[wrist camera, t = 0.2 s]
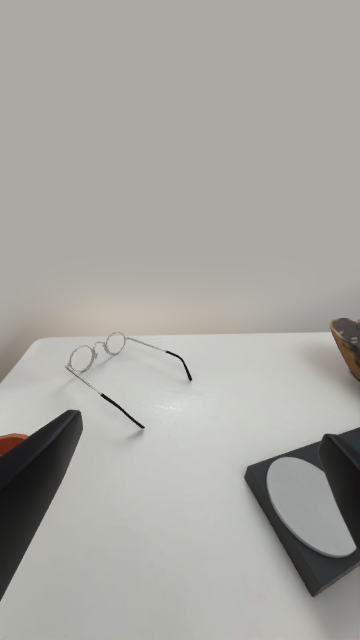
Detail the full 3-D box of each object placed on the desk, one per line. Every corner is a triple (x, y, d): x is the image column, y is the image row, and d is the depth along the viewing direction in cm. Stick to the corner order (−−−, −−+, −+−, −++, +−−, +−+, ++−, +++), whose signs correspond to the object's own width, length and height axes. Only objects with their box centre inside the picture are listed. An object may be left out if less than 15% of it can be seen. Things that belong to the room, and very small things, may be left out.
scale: (312, 598, 16) (324, 584, 15) (244, 477, 24) (248, 462, 23) (451, 500, 23) (465, 487, 22) (364, 432, 31) (372, 420, 30)
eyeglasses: (127, 344, 48) (126, 325, 47) (195, 377, 40) (198, 355, 38) (58, 379, 36) (54, 354, 34) (136, 438, 27) (137, 409, 25)
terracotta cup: (10, 537, 17) (-2, 508, 16) (-59, 528, 18) (-79, 497, 16) (55, 465, 23) (48, 437, 21) (2, 458, 23) (-9, 430, 21)
